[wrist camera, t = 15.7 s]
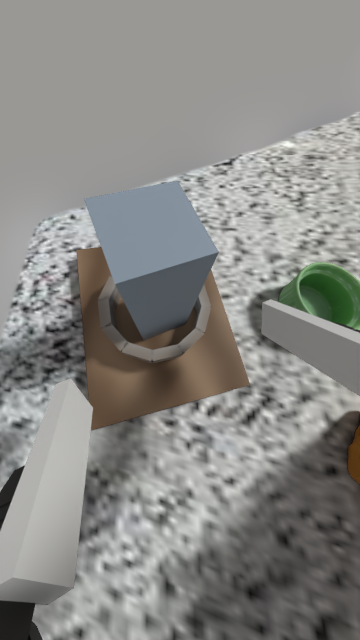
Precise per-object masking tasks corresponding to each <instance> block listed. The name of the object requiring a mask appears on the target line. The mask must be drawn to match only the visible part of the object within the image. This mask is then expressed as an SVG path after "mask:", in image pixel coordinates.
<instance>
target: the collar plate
mask: <svg viewBox="0 0 360 640" xmlns="http://www.w3.org/2000/svg"><path fill="white" fill-rule="evenodd" d="M77 262H78V274H79V286H80V299H81V311H82V323H83V335H84V348H85V360H86V372H87V384H88V397H89V403H90V404H91V406H92V407H93V413H92V422H91V430H94V429H97V428H101V427H104V426H108V425H111V424H115V423H118V422H122V421H125V420H129V419H132V418H136V417H139V416H143V415H146V414H150V413H153V412H157V411H160V410H164V409H167V408H171V407H174V406H178V405H181V404H185V403H188V402H191V401H195V400H198V399H202V398H205V397H209V396H212V395H216V394H219V393H223V392H226V391H230V390H233V389H237V388H240V387H244V386H247V385H250V383H249V380H248V377H247V374H246V371H245V368H244V365H243V362H242V359H241V356H240V353H239V351H238V348H237V345H236V342H235V339H234V336H233V333H232V330H231V327H230V324H229V321H228V318H227V315H226V312H225V309H224V306H223V303H222V300H221V297H220V294H219V291H218V288H217V285H216V283H215V280H214V277H213V274H212V271H211V270H210V272H209V274H208V276H207V279H206V281H205V283H204V285H203V287H202V290H201V292H200V294H199V296H198V298H197V300H196V303H195V305H194V307H193V309H192V311H191V314H190V316H189V318H188V320H187V322H186V324H185V325H182V326H180V327H177V328H175V329H172V330H169V331H167V332H164V333H162V334H159V335H157V336H154V337H152V338H149V339H147V340H143V338H142V336H141V334H140V332H139V330H138V328H137V326H136V324H135V322H134V321H133V319H132V317H131V315H130V313H129V311H128V309H127V307H126V305H125V303H124V301H123V299H122V297H121V295H120V293H119V291H118V289H117V287H116V285H115V283H114V280H113V278H112V275H111V272H110V269H109V267H108V264H107V261H106V258H105V256H104V253H103V250H102V247H98V248H89V249H81V250H77Z"/></svg>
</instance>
